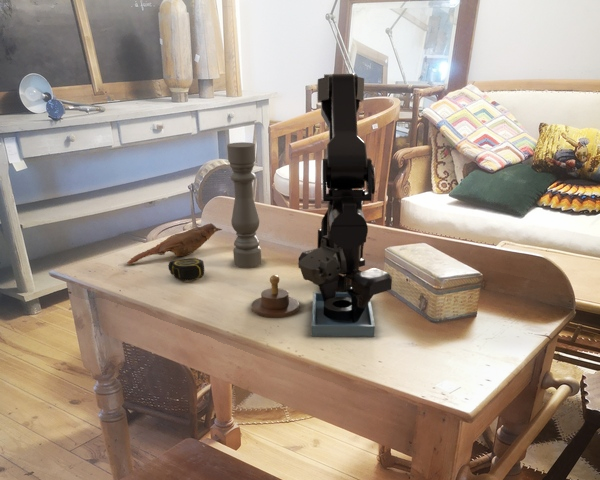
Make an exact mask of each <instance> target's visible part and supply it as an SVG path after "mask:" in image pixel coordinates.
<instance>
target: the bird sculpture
mask: <svg viewBox="0 0 600 480" xmlns="http://www.w3.org/2000/svg"><path fill="white" fill-rule="evenodd" d="M222 230H223V229H222V228H220V227H217V226H215V224H214V223H211V222H210V223H207V224H204V225H202V226H194V227H193V228H190V229H188V230H186V231H183V232H179V233H174V234H172V235H170V236H168V237H167V238H165V240H163V241H161V242H159V244H157V245H155V246H153V247H151V248H149V249H147V250H144V251H142V252H140V253H138V254H135V255H134V256H133V257H131V258H130V260H128V261H127V264H126V265H127V266H128V265H132V264H135V263H136V262H138V261H140V260H142V259H144V258H146V257H149V256H154V255H159V256H163V255H165V253H169V252H171V253H173V254H174V255H175V256H176V257H184V256H188V255H190V254H192V253H194V252H196V251H197V250H198V249H199V248H201V247H202V246H203V245H204V244H205V243H206V242H207V241H210V239H211V237H212V236H213V235H214V234H215V233H216V232H219V231H222Z"/></svg>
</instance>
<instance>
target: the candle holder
mask: <svg viewBox="0 0 600 480" xmlns="http://www.w3.org/2000/svg"><path fill="white" fill-rule="evenodd" d="M226 149H227V162H228V163H229V167H230V168H231V170H232V174H231V175H230V176H229V177H230V180H231V181H232V183H233V187H234V188H233V189H234V200H233V201H234V202H233V208H232V216H231V222H230V223H231V227H232V229H233V230H234V232H235V235H236V238H235V240H234V242H233V245H234V247H233V250H232V251H233V253H232V254H233V264H234V265H233V266H235V267H237V268H240V269H252V268H258V267H259V266H261V265H262V247H260V243H261V242H260V240H259V239H258V237H257V236H256V235H257V231H258V229H259V226H260V217H259V213H258V209H257V206H256V203H255V198H254V189H253V188H254V187H253V183H254V180H255V179H256V174H255V173H253V169H254V168H255V162H256V161H257V160H256V158H257V157H256V144H255V143H253V142H243V141H242V142H241V141H240V142H231V143H227V145H226Z"/></svg>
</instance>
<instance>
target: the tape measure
mask: <svg viewBox="0 0 600 480" xmlns="http://www.w3.org/2000/svg"><path fill="white" fill-rule="evenodd" d="M167 266H168V270H169V272H170V274H171V275H172V276H173V277H174V278H175V279H176V280H179V281H188V282H191V281H196V280H198V279H201V278H203V276H204V275H205V264H204V261H203V260H202V259H201V258H198V257H197V258H196V257H187V258H180V259H174V260H170V261H169V262H168V265H167Z"/></svg>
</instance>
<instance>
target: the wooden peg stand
mask: <svg viewBox="0 0 600 480" xmlns="http://www.w3.org/2000/svg"><path fill="white" fill-rule="evenodd" d="M269 283H270V284H271V287H270V288H267V289H264V290H262V291H261V293H260V297H259V298H255V300H253V301H252V302H251V311H252V312H253V313H254V314H255V315H257V316H259V317H263V318H271V319H272V318H275V319H277V318H285V317H289V316H292V315H294V314H296V313H297V312H298V311H299V309H300V302H299V301H298V300H297V299H296V298H294V297H291V296H290V292H289V291H288V290H286V289H284V288H279V283H280V277H279V276H278V275H276V274H273V275H270V277H269Z"/></svg>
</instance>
